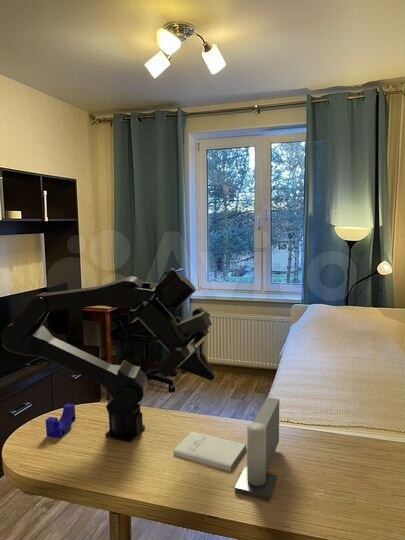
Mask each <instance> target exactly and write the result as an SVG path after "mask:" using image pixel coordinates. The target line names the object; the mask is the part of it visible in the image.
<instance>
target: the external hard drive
mask: <svg viewBox="0 0 405 540" xmlns="http://www.w3.org/2000/svg"><path fill="white" fill-rule="evenodd" d="M245 451H247V444H245V443H241V442H236V441H233V440H228V439H223V438H221V437H220V438H219V437H216V436H211V435H207V434H203V433H200V432H195V431H191V432H190V433H189V434H188V435H187V436H186V437H185V438H184V439H183V440H182V441H181V442H180V443H179V444H178V445H176V447H175V448H174V449H173V451H172V452H173V455H174V456H176V457H180V458H183V459H187V460H191V461H194V462H197V463H202V464H205V465H208V466H211V467H215V468H218V469H221V470H226V471H228V472H232V470H233V469H234V468H235V466H236V464H237V463H238V461H239V460H240V458H241V457H242V455H243V454H244V452H245Z"/></svg>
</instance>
